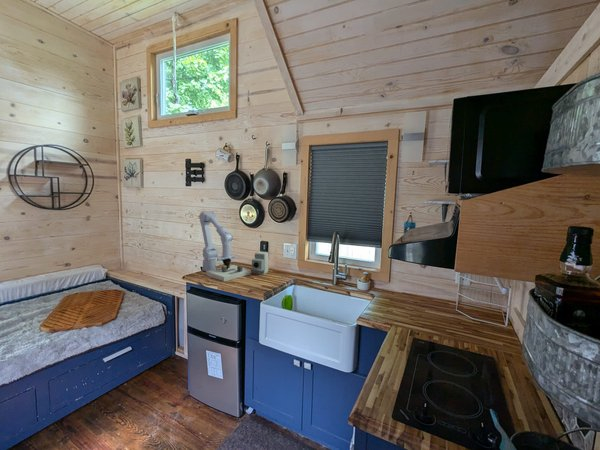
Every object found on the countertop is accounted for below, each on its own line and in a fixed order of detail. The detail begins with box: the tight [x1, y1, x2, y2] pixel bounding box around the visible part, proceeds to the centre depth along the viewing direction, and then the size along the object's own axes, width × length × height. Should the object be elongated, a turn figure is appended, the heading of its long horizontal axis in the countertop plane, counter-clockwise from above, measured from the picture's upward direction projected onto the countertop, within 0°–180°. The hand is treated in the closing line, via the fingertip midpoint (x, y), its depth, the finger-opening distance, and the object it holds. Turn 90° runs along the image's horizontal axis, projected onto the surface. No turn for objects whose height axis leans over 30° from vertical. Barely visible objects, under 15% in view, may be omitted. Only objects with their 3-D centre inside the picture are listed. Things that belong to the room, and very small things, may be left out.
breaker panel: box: [205, 263, 252, 282], centre depth 205 cm, size 20×24×7 cm
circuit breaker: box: [251, 250, 270, 275], centre depth 210 cm, size 8×14×15 cm, turn 163°
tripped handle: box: [221, 264, 227, 272], centre depth 202 cm, size 3×2×4 cm, turn 52°
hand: (226, 269), depth 203 cm, fingers closed
